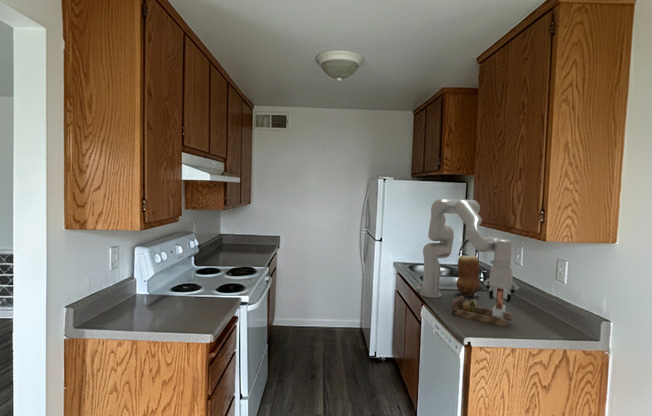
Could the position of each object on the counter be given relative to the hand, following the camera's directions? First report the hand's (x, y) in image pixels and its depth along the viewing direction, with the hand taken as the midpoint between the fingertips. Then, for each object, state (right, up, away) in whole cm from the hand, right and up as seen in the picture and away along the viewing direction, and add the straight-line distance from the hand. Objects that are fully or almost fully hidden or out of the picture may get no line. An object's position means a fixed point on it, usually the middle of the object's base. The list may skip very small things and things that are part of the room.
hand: (499, 300), depth 185 cm
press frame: (-7, -10, +5) cm, 13 cm away
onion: (-12, -10, +8) cm, 18 cm away
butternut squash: (+1, -8, +44) cm, 45 cm away
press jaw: (0, -9, 0) cm, 9 cm away
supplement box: (+21, -9, +44) cm, 50 cm away
